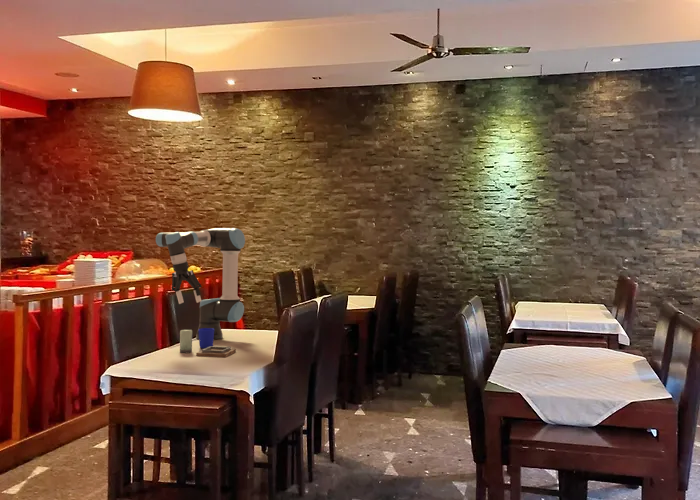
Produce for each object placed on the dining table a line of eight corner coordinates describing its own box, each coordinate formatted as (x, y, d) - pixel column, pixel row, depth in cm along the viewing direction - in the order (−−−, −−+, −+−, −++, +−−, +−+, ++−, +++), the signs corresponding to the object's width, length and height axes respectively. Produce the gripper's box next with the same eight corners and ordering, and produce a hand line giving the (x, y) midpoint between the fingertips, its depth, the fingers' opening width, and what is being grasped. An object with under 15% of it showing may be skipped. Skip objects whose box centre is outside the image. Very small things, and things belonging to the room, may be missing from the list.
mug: (218, 345, 332) (218, 327, 332) (211, 349, 320) (211, 330, 320) (203, 345, 333) (204, 326, 333) (196, 348, 321) (196, 330, 321)
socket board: (208, 350, 316) (208, 345, 316) (235, 352, 314) (235, 346, 314) (196, 355, 301) (196, 350, 301) (225, 357, 299) (225, 351, 299)
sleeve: (182, 350, 315) (183, 329, 315) (193, 351, 314) (194, 329, 314) (177, 352, 309) (178, 331, 309) (188, 353, 308) (189, 331, 308)
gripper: (158, 266, 313) (168, 305, 316) (190, 262, 299) (201, 303, 302) (169, 262, 319) (179, 301, 322) (201, 258, 305) (212, 299, 308)
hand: (190, 302), depth 312 cm, fingers open, 13 cm apart
